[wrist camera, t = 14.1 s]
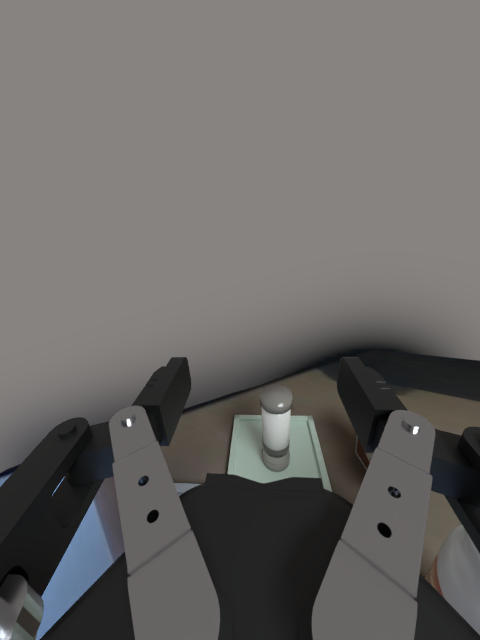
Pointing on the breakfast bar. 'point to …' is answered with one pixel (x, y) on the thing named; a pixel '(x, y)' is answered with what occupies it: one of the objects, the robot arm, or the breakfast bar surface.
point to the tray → (302, 450)
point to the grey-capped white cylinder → (275, 426)
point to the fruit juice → (458, 575)
